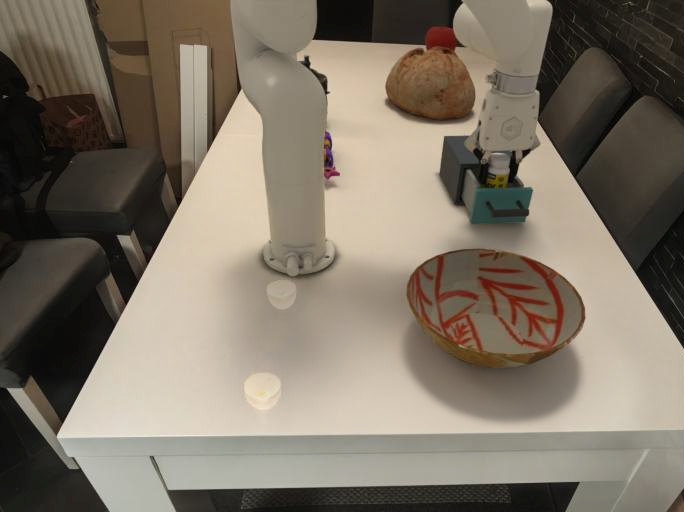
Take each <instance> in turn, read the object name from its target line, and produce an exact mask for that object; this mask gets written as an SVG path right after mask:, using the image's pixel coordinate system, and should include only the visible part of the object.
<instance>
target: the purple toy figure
mask: <svg viewBox="0 0 684 512" xmlns="http://www.w3.org/2000/svg"><path fill="white" fill-rule="evenodd" d="M332 139H333V138H332V136H331V133H330V132H329V131H326V130H325V136H324V178H326V180H330V178H332V177H341V172H339V171H337V170H336V166H334V155H333V153H332V149H333V140H332Z"/></svg>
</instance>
